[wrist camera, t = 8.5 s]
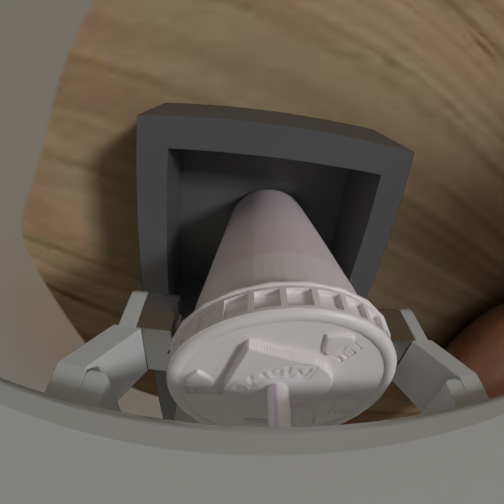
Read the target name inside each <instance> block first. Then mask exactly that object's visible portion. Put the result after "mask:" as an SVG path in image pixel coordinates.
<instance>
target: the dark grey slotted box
mask: <svg viewBox="0 0 504 504" xmlns="http://www.w3.org/2000/svg"><path fill="white" fill-rule="evenodd" d="M413 155H414V152H413V151H411V150H409V149H408V148H406V147H404V146H402V145H400V144H399V143H397V142H395V141H393V140H391V139H389V138H388V137H386V136H384V135H382V134H380V133H378V132H376V131H374V130H371V129H367V128H363V127H358V126H354V125H349V124H344V123H339V122H334V121H329V120H324V119H318V118H313V117H307V116H301V115H294V114H288V113H281V112H273V111H266V110H258V109H249V108H239V107H228V106H216V105H202V104H182V103H164V104H162V105H160V106H157V107H155V108H152V109H150V110H148V111H145V112H143V113H141V114H139V115H137V141H136V181H137V215H138V234H139V250H140V263H141V274H142V285H143V291H145V292H154V293H161V294H169V295H177V296H180V297H181V310H180V315H181V316H182V321H183V320H184V319H186V318H187V317H188V316H189V315H190V314H192V313H193V312H194V310H195V307H196V304H197V302H198V299H199V296H200V294H201V292H202V289H203V287H204V284H205V281H206V279H207V276H208V274H209V271H210V269H211V266H212V263H213V261H214V258H215V256H216V253H217V251H218V248H219V245H220V243H221V240H222V238H223V235H224V233H225V230H226V228H227V225H228V223H229V220H230V218H231V215H232V213H233V210H234V208H235V207H236V205H237V204H238V203H239V202H240V201H241V200H242V199H243V198H244V197H245V196H247V195H249V194H251V193H253V192H256V191H259V190H267V189H269V190H277V191H281V192H284V193H286V194H288V195H289V196H291V197H292V198H293V199H295V200H296V202H297V203H298V204H299V205H300V207H301V208H302V210H303V211H304V213H305V214H306V216H307V217H308V219H309V220H310V222H311V223H312V225H313V226H314V228H315V229H316V231H317V232H318V234H319V235H320V237H321V238H322V240H323V241H324V243H325V244H326V246H327V248H328V249H329V251H330V252H331V254H332V255H333V257H334V258H335V260H336V262H337V263H338V265H339V266H340V268H341V269H342V271H343V273H344V274H345V276H346V277H347V279H348V280H349V282H350V283H351V285H352V286H353V288H354V290H355V292H356V293H357V295H359V296H361V297H363V298H365V299H366V297H367V295H368V292H369V290H370V287H371V285H372V282H373V279H374V277H375V274H376V272H377V269H378V266H379V264H380V261H381V258H382V255H383V253H384V250H385V247H386V244H387V241H388V238H389V235H390V232H391V229H392V226H393V223H394V220H395V217H396V214H397V211H398V208H399V205H400V201H401V198H402V195H403V191H404V188H405V184H406V181H407V177H408V174H409V170H410V166H411V163H412V159H413ZM154 374H155V379H156V385H157V390H158V396H159V401H160V406H161V411H162V415H163V419H166V420H174V421H182V422H191V423H200V422H198V421H197V420H195V419H194V418H192V417H191V416H190V415H188V414H187V413H185V412H184V411H183V410H182V409H181V408H180V407H179V406H178V404H177V403H176V402H175V401H174V399H173V398H172V396H171V394H170V392H169V389H168V386H167V379H166V376H167V371H164V370H154ZM201 424H202V423H201Z"/></svg>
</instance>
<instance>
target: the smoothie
mask: <svg viewBox="0 0 504 504" xmlns="http://www.w3.org/2000/svg"><path fill="white" fill-rule="evenodd" d="M390 337H391V335H390V332H389V329H388V326H387V324H386V321H385V318H384V316H383V315H382V314H381V313H380V312H379V311H378V310H377V309H376V308H375V307H374V306H373V305H372V304H371V303H370V302H369V301H368V300H367V299H365V298H363V297H361V296H359V295H357V293H356V292H355V290H354V288H353V286H352V285H351V283H350V282H349V280H348V279H347V277H346V276H345V274H344V273H343V271H342V269H341V268H340V266H339V265H338V263H337V262H336V260H335V258H334V257H333V255H332V254H331V252H330V251H329V249H328V248H327V246H326V244H325V243H324V241H323V240H322V238H321V237H320V235H319V234H318V232H317V231H316V229H315V228H314V226H313V225H312V223H311V222H310V220H309V219H308V217H307V216H306V214H305V213H304V211H303V210H302V208H301V207H300V205H299V204H298V203H297V202H296V200H295V199H293V198H292V197H291V196H289V195H288V194H286V193H284V192H281V191H277V190H269V189H267V190H259V191H256V192H253V193H251V194H249V195H247V196H245V197H244V198H243V199H242V200H241V201H240V202H239V203H238V204H237V205H236V207H235V208H234V210H233V213H232V215H231V218H230V220H229V223H228V225H227V228H226V230H225V233H224V235H223V238H222V240H221V243H220V245H219V248H218V251H217V253H216V256H215V258H214V261H213V263H212V266H211V269H210V271H209V274H208V276H207V279H206V281H205V284H204V287H203V289H202V292H201V294H200V296H199V299H198V302H197V304H196V307H195V310H194V312H193V313H192V314H190V315H189V316H188V317H187V318H186V319H184V320H183V321H182V323H181V325H180V326H179V328H178V330H177V331H176V333H175V335H174V336H173V338H172V340H171V346H170V354H169V365H168V368H167V376H166V379H167V386H168V389H169V392H170V394H171V396H172V398H173V399H174V401H175V402H176V403H177V404H178V406H179V407H180V408H181V409H182V410H183V411H184V412H185V413H187V414H188V415H190V416H191V417H192V418H194V419H195V420H197V421H198V422H200V423H202V424H213V425H227V426H248V427H310V426H330V425H340V424H342V423H345V422H347V421H348V420H350V419H352V418H354V417H356V416H358V415H359V414H361V413H362V412H363V411H365V410H366V409H368V408H369V407H370V406H372V405H373V404H374V403H375V402H376V401H377V400H378V399H379V398H380V397H381V396H382V395H383V393H384V392H385V391H386V389H387V388H388V386H389V385H390V383H391V381H392V379H393V377H394V374H395V371H396V366H397V356H396V351H395V348H394V346H393V343H392V341H391V338H390Z"/></svg>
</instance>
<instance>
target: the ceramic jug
mask: <svg viewBox="0 0 504 504" xmlns="http://www.w3.org/2000/svg"><path fill="white" fill-rule="evenodd" d="M445 351H447V352H448V353H449V354H451V355H452V356H453V357H455V358H456V359H457V360H459V361H460V362H461V363H463V364H464V365H465V366H467V367H468V368H469V369H471V370H472V371H473V372H475V373H476V374H477V376H478V378H479V380H480V381H481V383H482V385H483V387H484V389H485V391H486V393H487V395H488V397H489V399H490V398H493V397H496V396H500V395H503V394H504V303H502V304H500V305H498V306H495V307H493V308H492V309H490V310H488V311H486V312H485V313H483V314H482V315H480V316H479V317H478V318H476V319H475V320H474V321H472V322H471V323H470V324H469V325H468V326H467V327H465V328H464V329H463V330H462V331H461V332H460V333H459V334H458V335H457V336H456V337H455V338H454V339H453V340H452V341H451V342H450V344H449V345H448V346H447V347H446V349H445Z"/></svg>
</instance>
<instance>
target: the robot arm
mask: <svg viewBox="0 0 504 504" xmlns="http://www.w3.org/2000/svg"><path fill="white" fill-rule="evenodd" d="M180 310H181V297H180V296H177V295H169V294H161V293H154V292H145V291H137V290H134V291H133V292H132V293H131V295H130V298H129V300H128V303H127V305H126V307H125V310H124V312H123V315H122V317H121V320H120V322H119V325H112V326H111V327H109V328H108V329H106V330H105V331H103V332H102V333H100V334H99V335H97V336H96V337H94V338H93V339H91V340H90V341H88V342H87V343H85V344H84V345H82V346H81V347H79V348H78V349H76V350H75V351H74V352H72V353H71V354H69V355H68V356H66V357H65V358H63V359H62V360H60V361H59V362H58V364H57V366H56V369H55V371H54V373H53V375H52V377H51V380H50V382H49V384H48V386H47V389H46V391H45V393H42V392H39V391H36V390H33V389H30V388H27V387H24V386H21V385H18V384H15V383H12V382H10V381H7V380H4V379H2V378H0V504H504V394H503V395H500V396H496V397H493V398H490V399H489V397H488V395H487V393H486V391H485V389H484V387H483V385H482V383H481V381H480V380H479V378H478V376H477V374H476V373H475V372H473V371H472V370H471V369H469V368H468V367H467V366H465V365H464V364H463V363H461V362H460V361H459V360H457V359H456V358H455V357H453V356H452V355H451V354H449V353H448V352H447V351H445V350H444V349H443V348H441V347H440V346H439V345H437V344H436V343H434V342H433V341H432V340H428V339H427V337H426V336H425V334H424V332H423V330H422V328H421V326H420V325H419V323H418V321H417V319H416V317H415V316H414V314H413V312H412V311H411V310H410V309H377V310H378V311H379V312H380V313H381V314H382V315H383V316H384V318H385V321H386V324H387V326H388V329H389V332H390V335H391V337H390V338H391V341H392V343H393V346H394V348H395V351H396V356H397V366H396V371H395V374H394V377H393V379H392V381H393V382H394V383H395V384H396V385H397V386H398V387H399V389H400V390H401V391H402V392H403V393H404V394H405V395H406V396H407V397H408V398H409V399H410V400H411V401H412V402H413V403H414V405H415V406H416V407H417V408H418V409H419V410H420V411H421V412H420V414H419V415H415V416H409V417H403V418H396V419H390V420H382V421H374V422H365V423H355V424H344V425H330V426H310V427H248V426H227V425H213V424H201V423H191V422H182V421H174V420H166V419H159V418H152V417H146V416H140V415H133V414H128V413H123V412H121V410H120V408H119V405H118V403H117V401H118V400H119V399H120V398H121V396H123V395H124V394H125V392H127V391H128V389H130V388H131V387H132V386H133V385H134V384H135V383H136V382H137V381H138V380H139V379H140V378H141V377H142V376H143V375H144V374H145V373H146V372H147V371H148V369H154V370H164V371H167V368H168V365H169V354H170V346H171V340H172V338H173V336H174V335H175V333H176V331H177V330H178V328H179V326H180V325H181V323H182V316H181V315H180Z"/></svg>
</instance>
